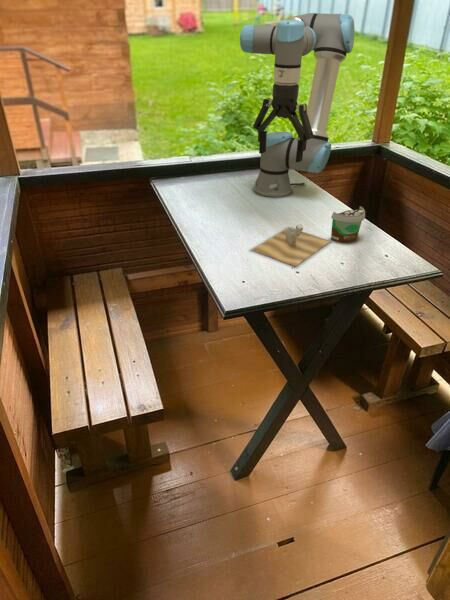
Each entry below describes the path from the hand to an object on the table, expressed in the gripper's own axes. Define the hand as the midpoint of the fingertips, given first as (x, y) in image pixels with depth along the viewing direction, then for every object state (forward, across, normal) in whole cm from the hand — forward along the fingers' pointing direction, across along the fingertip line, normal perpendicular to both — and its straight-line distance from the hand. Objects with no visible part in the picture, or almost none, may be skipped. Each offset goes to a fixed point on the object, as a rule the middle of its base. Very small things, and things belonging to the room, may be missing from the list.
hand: (280, 156), depth 140 cm
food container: (+25, +24, +8) cm, 36 cm away
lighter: (+24, +12, -8) cm, 28 cm away
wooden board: (+25, +12, -8) cm, 28 cm away
